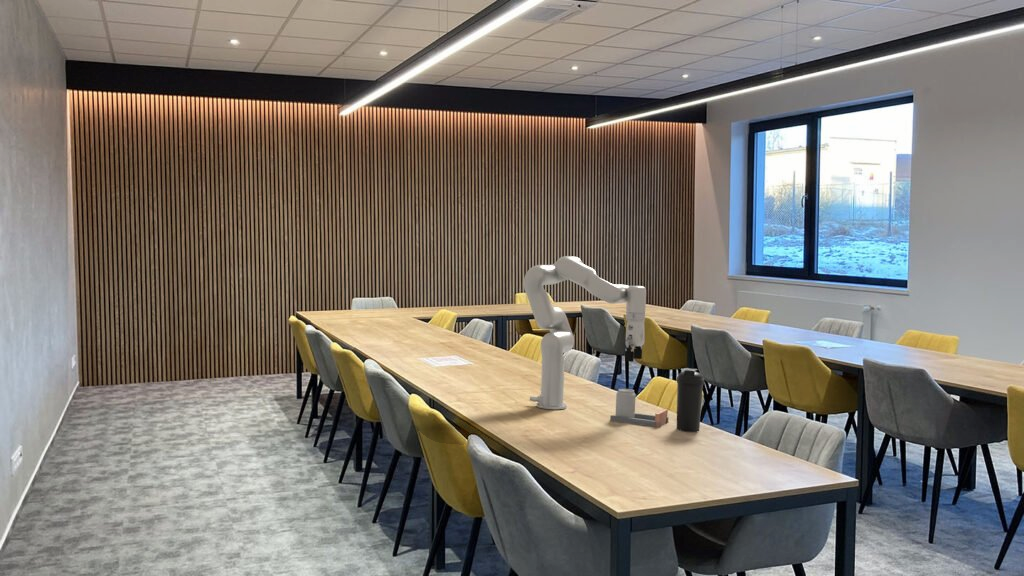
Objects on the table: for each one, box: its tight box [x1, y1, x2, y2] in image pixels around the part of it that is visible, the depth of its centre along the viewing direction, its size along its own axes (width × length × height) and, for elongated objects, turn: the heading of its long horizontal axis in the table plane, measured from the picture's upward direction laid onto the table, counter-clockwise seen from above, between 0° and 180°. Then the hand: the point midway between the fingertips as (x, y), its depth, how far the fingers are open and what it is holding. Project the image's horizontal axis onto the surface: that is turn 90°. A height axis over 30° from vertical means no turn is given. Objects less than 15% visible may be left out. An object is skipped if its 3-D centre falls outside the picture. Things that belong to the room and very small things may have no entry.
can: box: [614, 388, 637, 418], centre depth 338 cm, size 8×8×12 cm
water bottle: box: [676, 367, 705, 433], centre depth 324 cm, size 10×10×23 cm
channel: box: [609, 408, 670, 428], centre depth 335 cm, size 20×11×5 cm, turn 63°
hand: (633, 359), depth 340 cm, fingers open, 9 cm apart
